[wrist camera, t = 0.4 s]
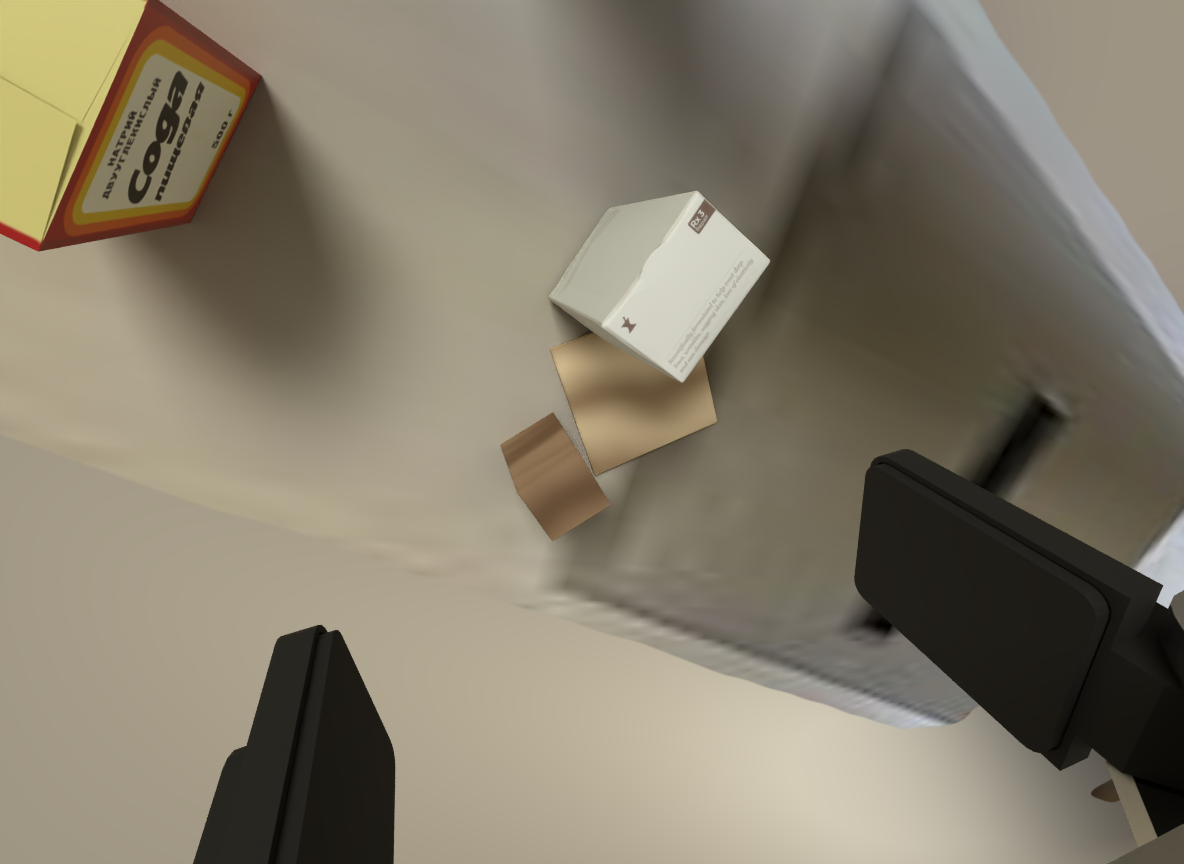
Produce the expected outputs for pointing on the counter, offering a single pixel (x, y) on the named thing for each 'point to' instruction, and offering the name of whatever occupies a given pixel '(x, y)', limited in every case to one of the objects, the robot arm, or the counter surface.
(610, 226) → the skincare box
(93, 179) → the baking soda box
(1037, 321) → the counter surface
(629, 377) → the brass plate
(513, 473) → the walnut block
